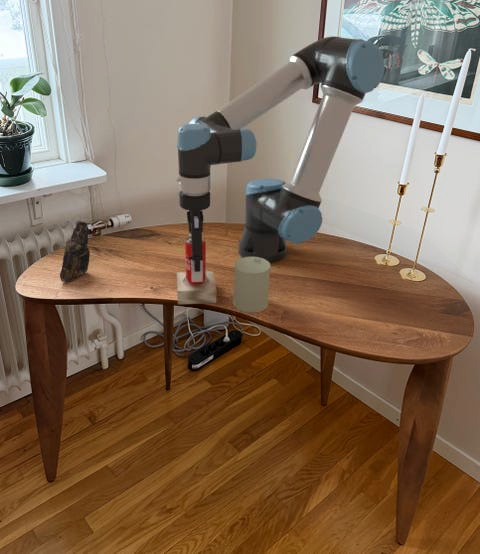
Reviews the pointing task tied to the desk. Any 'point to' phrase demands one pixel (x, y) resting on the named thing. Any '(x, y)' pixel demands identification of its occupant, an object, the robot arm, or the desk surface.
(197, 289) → the base
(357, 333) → the desk surface
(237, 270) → the can
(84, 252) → the statue
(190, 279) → the beverage can
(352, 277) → the desk surface
